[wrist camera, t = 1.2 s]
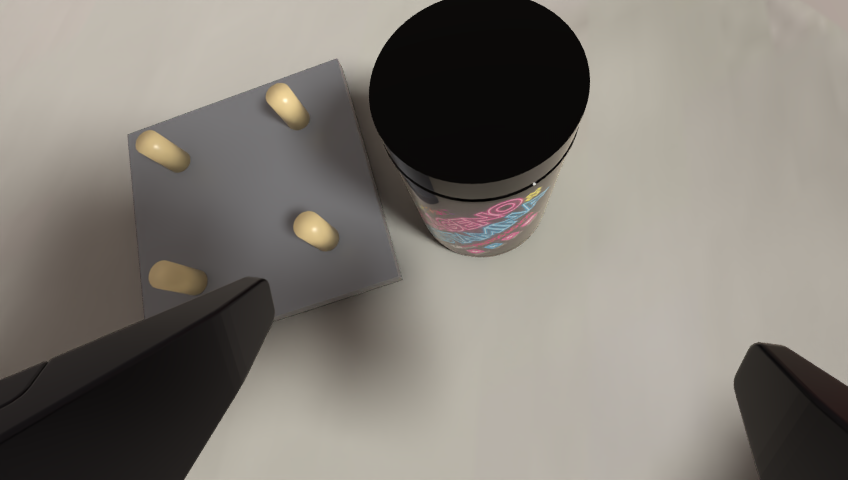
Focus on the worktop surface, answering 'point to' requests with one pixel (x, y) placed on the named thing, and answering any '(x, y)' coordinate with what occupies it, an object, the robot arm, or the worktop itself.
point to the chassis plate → (261, 198)
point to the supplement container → (480, 116)
